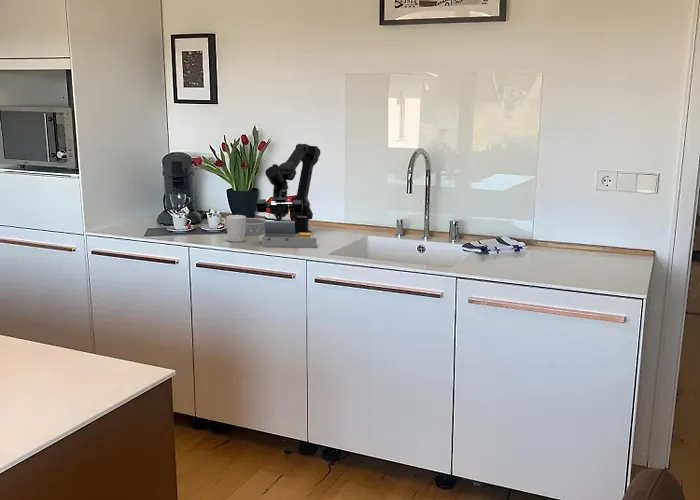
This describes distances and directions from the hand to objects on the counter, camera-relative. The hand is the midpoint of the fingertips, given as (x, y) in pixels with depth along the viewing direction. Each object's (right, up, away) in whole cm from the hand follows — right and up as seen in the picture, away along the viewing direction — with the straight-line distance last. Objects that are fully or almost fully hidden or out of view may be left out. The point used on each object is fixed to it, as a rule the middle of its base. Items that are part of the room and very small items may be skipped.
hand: (278, 223), depth 287 cm
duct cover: (0, -2, +3) cm, 3 cm away
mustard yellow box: (+10, -7, +13) cm, 18 cm away
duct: (+4, -9, +4) cm, 11 cm away
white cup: (-19, -7, +12) cm, 23 cm away
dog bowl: (-16, -3, +31) cm, 35 cm away
